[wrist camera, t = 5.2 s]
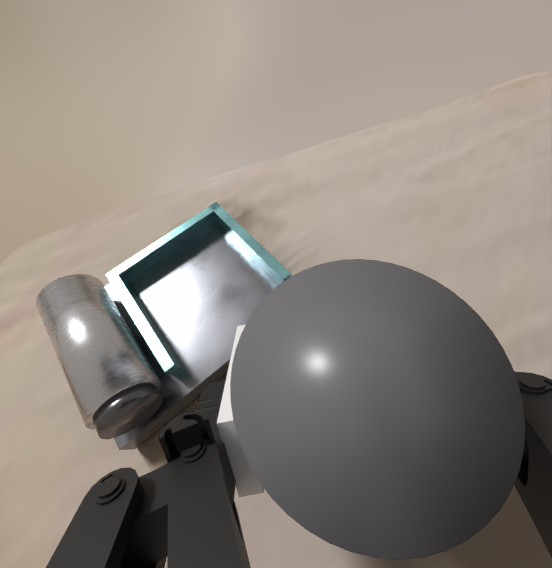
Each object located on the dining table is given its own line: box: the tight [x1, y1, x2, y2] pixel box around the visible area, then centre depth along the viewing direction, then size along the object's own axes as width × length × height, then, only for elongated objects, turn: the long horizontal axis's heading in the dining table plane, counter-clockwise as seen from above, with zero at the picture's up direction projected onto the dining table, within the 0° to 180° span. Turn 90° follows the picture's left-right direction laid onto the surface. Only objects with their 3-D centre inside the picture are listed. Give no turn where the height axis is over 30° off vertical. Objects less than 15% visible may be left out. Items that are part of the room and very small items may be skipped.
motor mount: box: [36, 202, 291, 450], centre depth 18 cm, size 13×10×5 cm
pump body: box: [230, 259, 525, 559], centre depth 11 cm, size 5×5×12 cm
